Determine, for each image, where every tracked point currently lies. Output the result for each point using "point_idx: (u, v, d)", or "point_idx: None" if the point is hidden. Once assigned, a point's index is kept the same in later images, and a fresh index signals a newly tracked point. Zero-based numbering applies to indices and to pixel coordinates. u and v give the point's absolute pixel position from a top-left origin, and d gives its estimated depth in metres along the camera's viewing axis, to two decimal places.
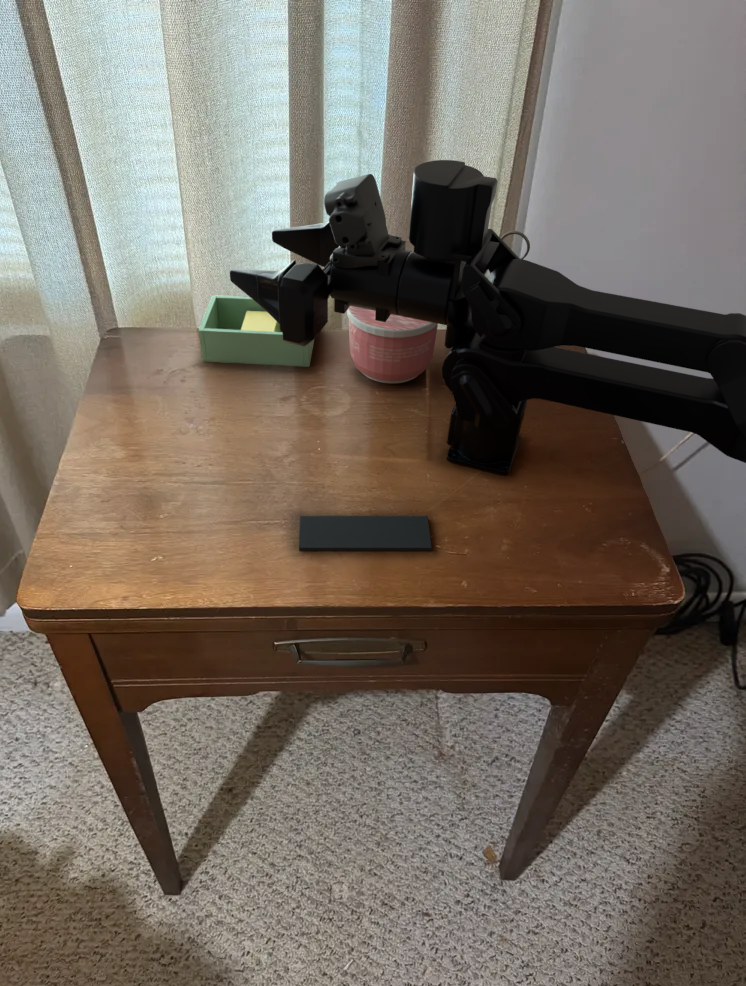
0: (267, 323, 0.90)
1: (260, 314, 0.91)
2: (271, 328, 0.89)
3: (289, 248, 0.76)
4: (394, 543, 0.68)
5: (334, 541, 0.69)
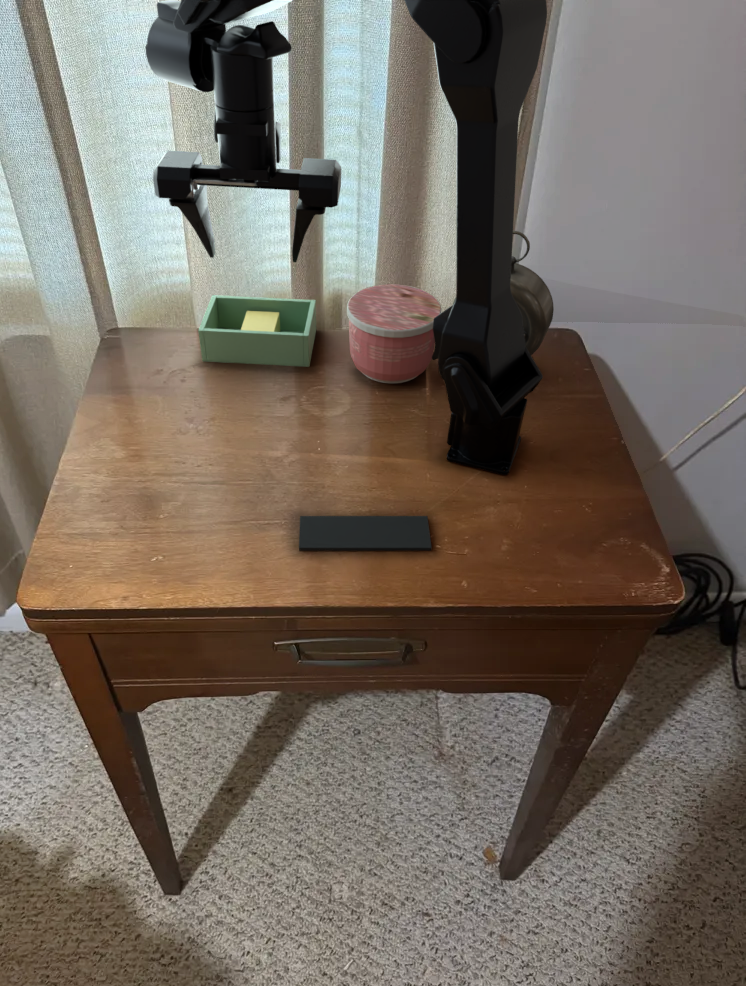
0: (267, 323, 0.90)
1: (260, 314, 0.91)
2: (271, 328, 0.89)
3: (292, 247, 0.82)
4: (394, 543, 0.68)
5: (334, 541, 0.69)
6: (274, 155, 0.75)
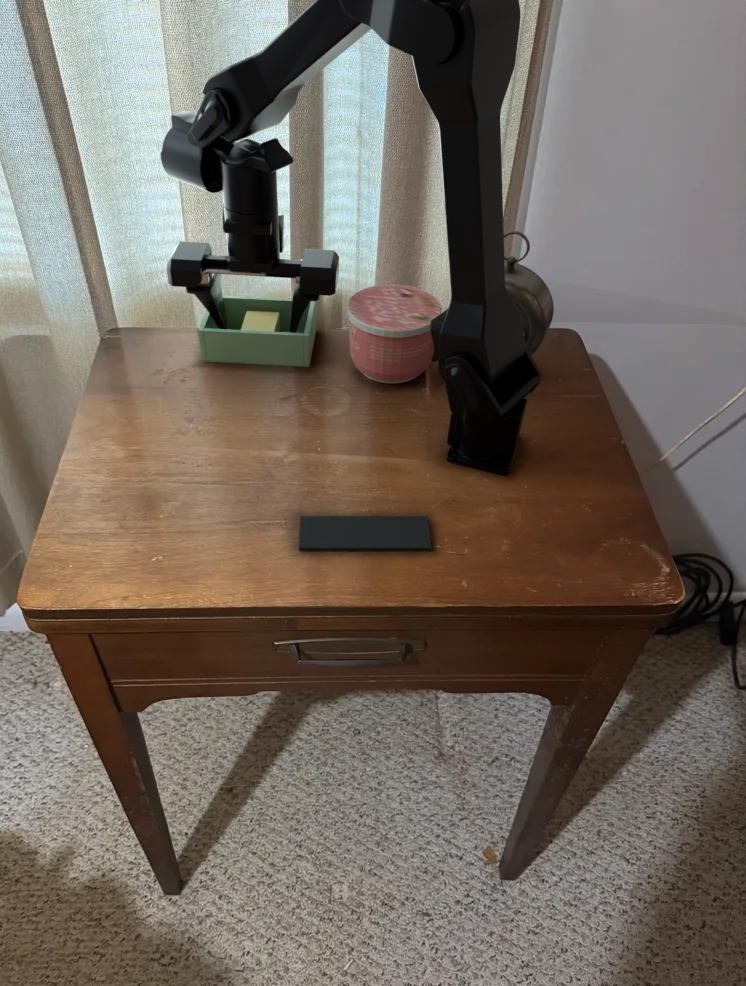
0: (267, 323, 0.90)
1: (260, 314, 0.91)
2: (271, 328, 0.89)
3: None
4: (394, 543, 0.68)
5: (334, 541, 0.69)
6: (277, 248, 0.82)
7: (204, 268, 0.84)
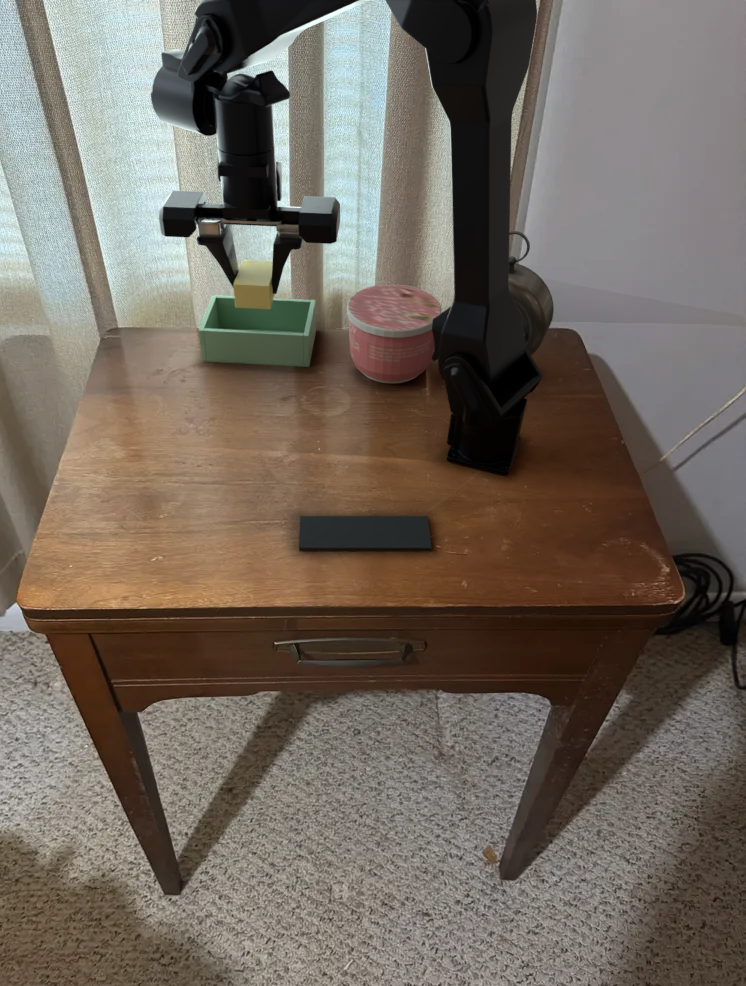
0: (263, 272, 0.85)
1: (256, 263, 0.87)
2: (268, 276, 0.84)
3: (272, 280, 0.85)
4: (394, 543, 0.68)
5: (334, 541, 0.69)
6: (275, 194, 0.78)
7: (216, 218, 0.80)
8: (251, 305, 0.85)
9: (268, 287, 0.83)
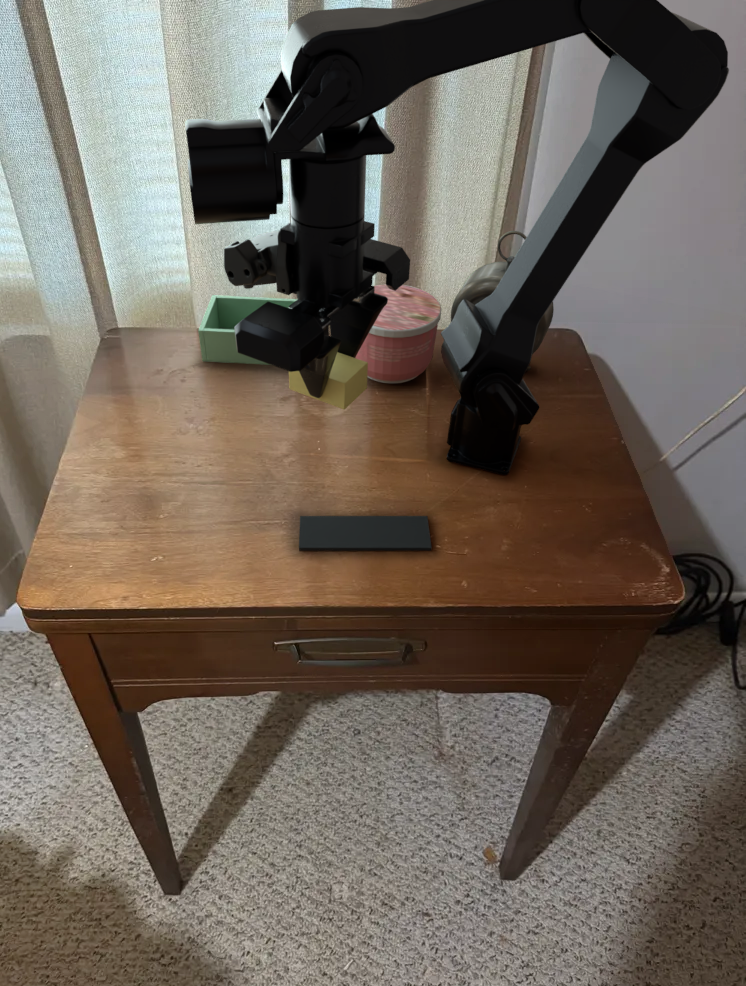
0: None
1: None
2: (345, 357, 0.68)
3: None
4: (394, 543, 0.68)
5: (334, 541, 0.69)
6: None
7: (319, 317, 0.61)
8: (355, 396, 0.68)
9: (366, 364, 0.68)
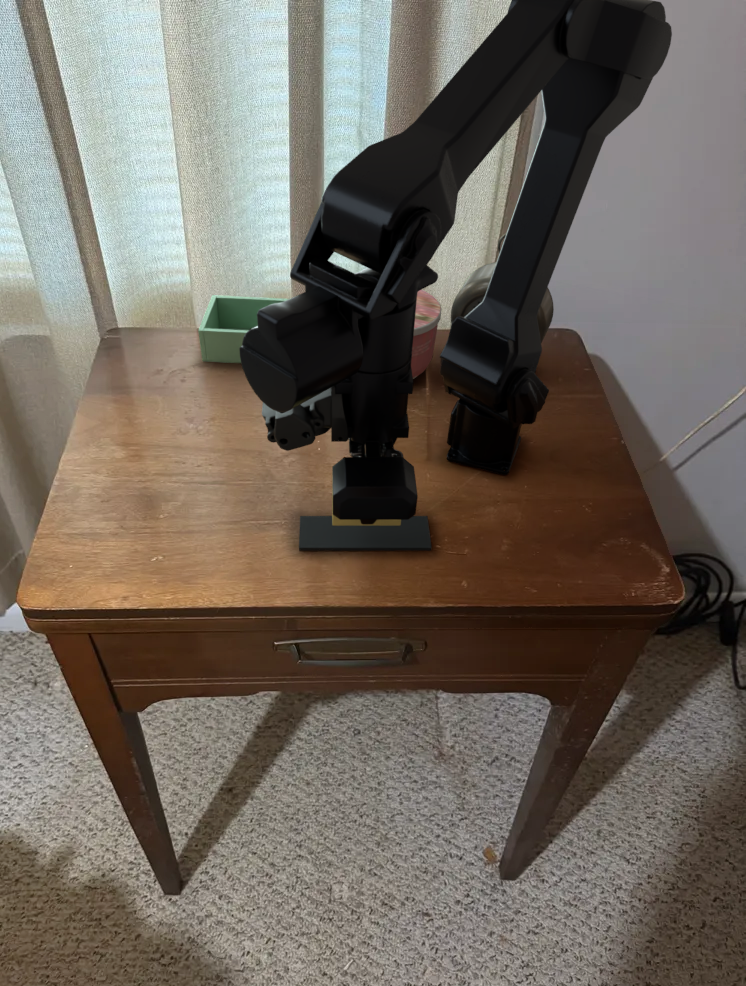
0: None
1: None
2: None
3: None
4: (394, 543, 0.68)
5: (334, 541, 0.69)
6: None
7: (389, 453, 0.59)
8: None
9: None
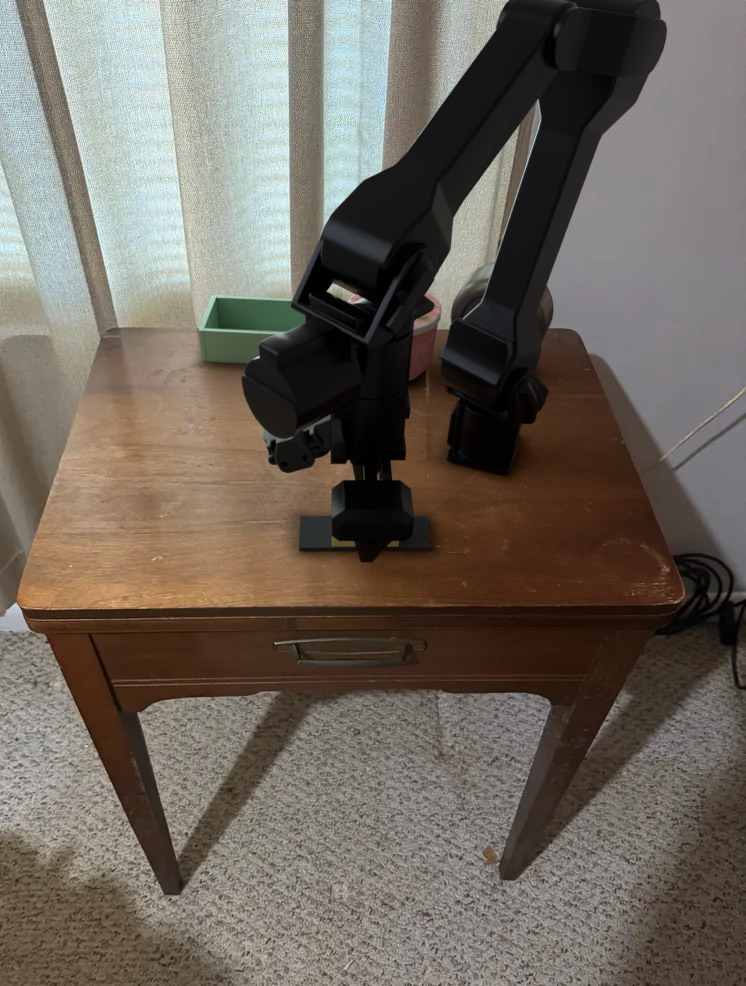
0: None
1: None
2: None
3: None
4: None
5: None
6: None
7: None
8: None
9: None
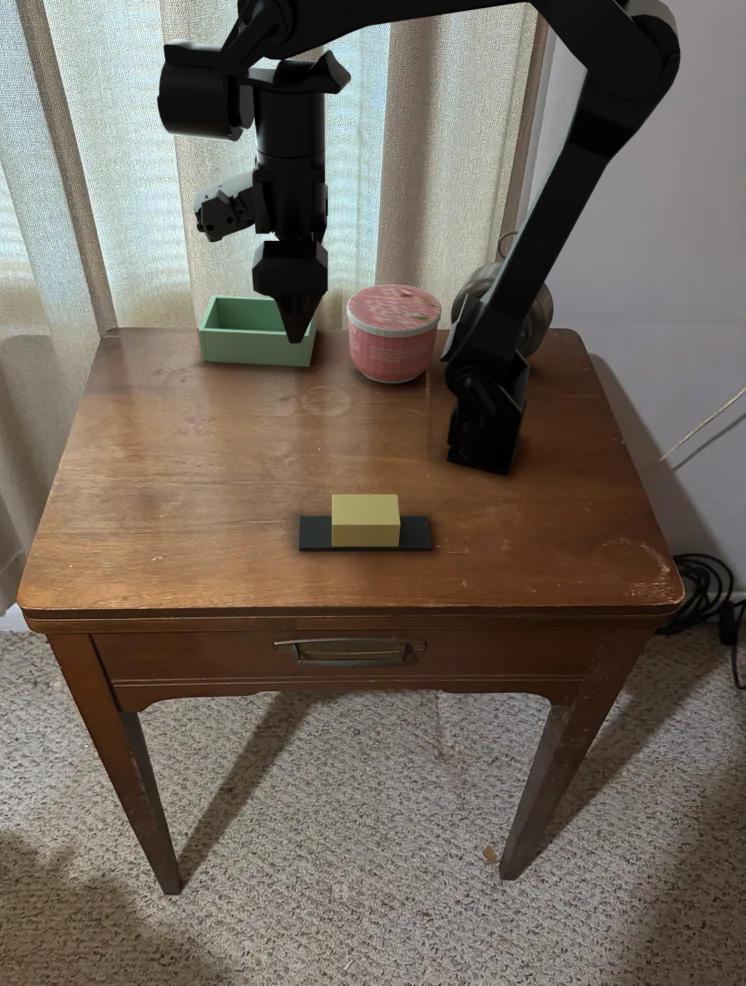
0: (364, 501, 0.68)
1: (340, 510, 0.67)
2: (373, 497, 0.69)
3: None
4: None
5: None
6: None
7: None
8: None
9: None
